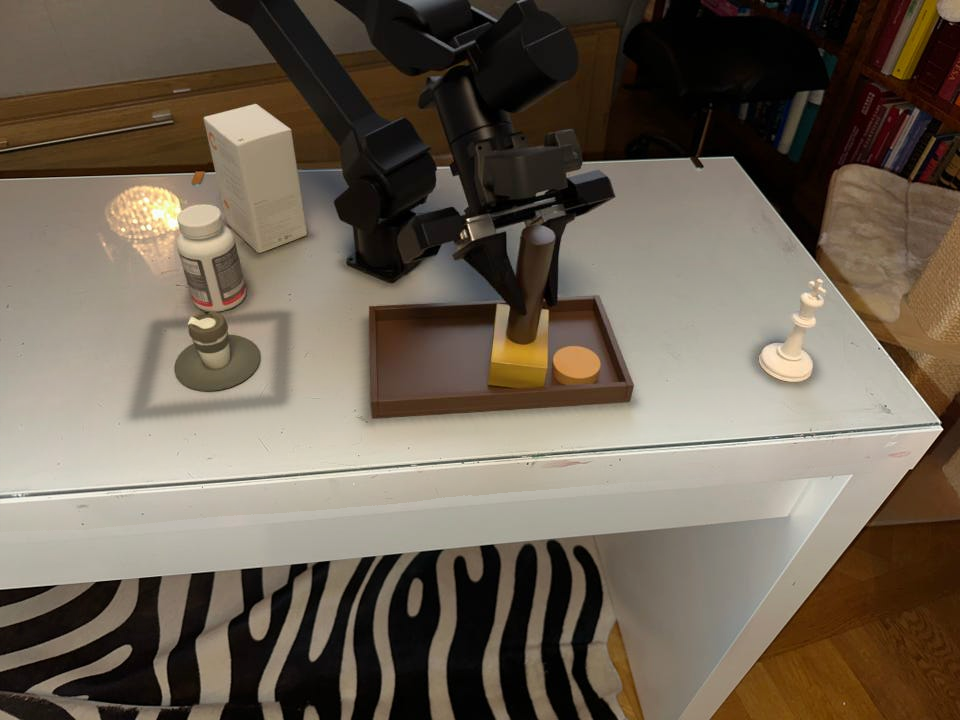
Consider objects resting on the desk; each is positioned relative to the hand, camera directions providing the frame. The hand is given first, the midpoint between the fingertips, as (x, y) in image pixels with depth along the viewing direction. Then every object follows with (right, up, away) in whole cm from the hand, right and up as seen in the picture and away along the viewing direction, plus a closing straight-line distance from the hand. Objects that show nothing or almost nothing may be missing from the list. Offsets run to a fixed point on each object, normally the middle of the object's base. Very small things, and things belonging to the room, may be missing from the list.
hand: (538, 311), depth 64 cm
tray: (-4, -4, +7) cm, 9 cm away
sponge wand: (-2, -4, +6) cm, 7 cm away
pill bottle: (-32, +2, +13) cm, 34 cm away
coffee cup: (-30, -4, +6) cm, 30 cm away
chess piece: (+24, -5, +8) cm, 26 cm away
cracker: (+4, -5, +5) cm, 9 cm away
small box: (-30, +11, +22) cm, 39 cm away
